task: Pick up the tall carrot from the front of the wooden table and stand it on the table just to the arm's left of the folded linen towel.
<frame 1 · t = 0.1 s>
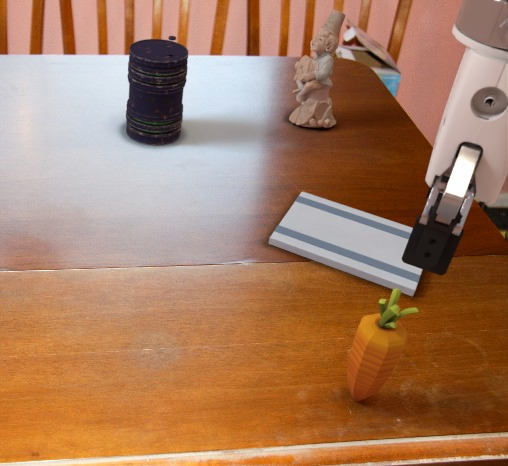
hand: (434, 233, 52), 25 cm above the table, tool pointing down, fingers open, 9 cm apart
towel: (351, 242, 93), on the table
carrot: (355, 400, 70), on the table
figurine: (309, 122, 123), on the table
dark blue cylinder: (153, 132, 115), on the table
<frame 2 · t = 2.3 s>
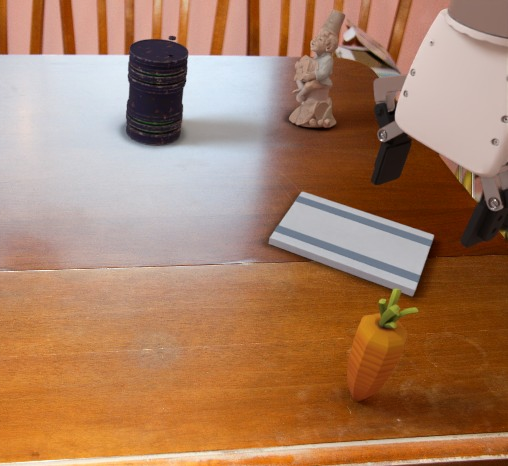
hand: (427, 209, 55), 25 cm above the table, tool pointing down, fingers open, 9 cm apart
nothing on the table moved.
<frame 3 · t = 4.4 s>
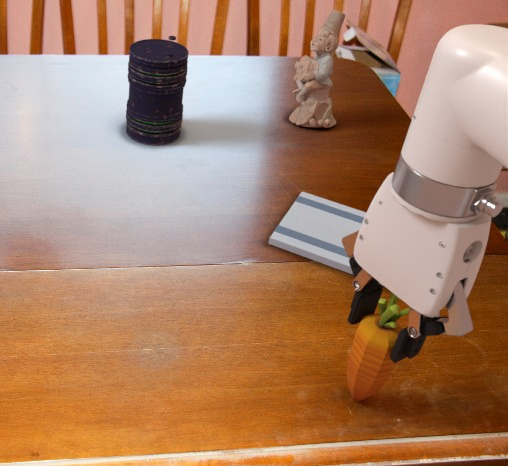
hand: (381, 335, 64), 10 cm above the table, tool pointing down, fingers closed on carrot, 4 cm apart
carrot: (355, 400, 70), on the table, touching gripper
everything else where it was.
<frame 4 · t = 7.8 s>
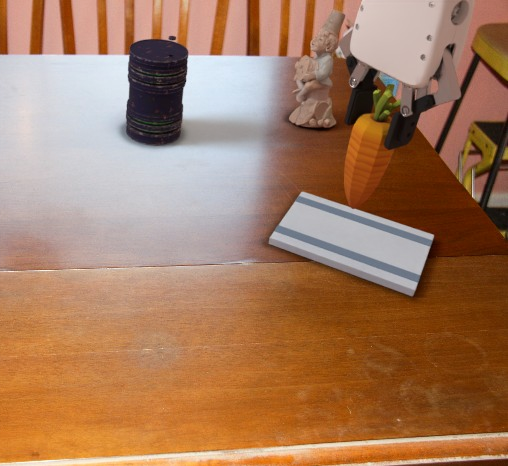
hand: (375, 132, 69), 24 cm above the table, tool pointing down, fingers closed on carrot, 4 cm apart
carrot: (352, 209, 75), point 14 cm above the table, touching gripper
everything else where it was.
when the fingers open (10 cm above the table, at t = 11.2 s): carrot stays where it is, on the table.
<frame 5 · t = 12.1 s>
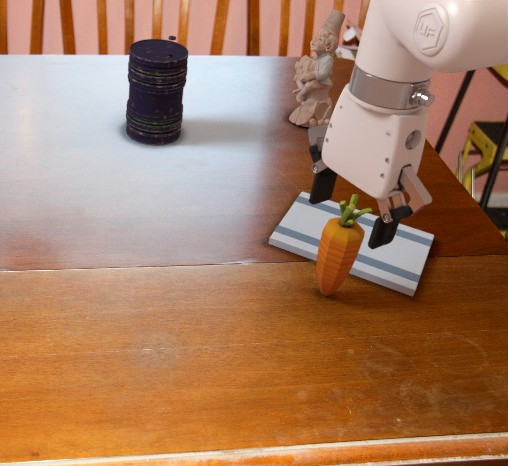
hand: (347, 222, 76), 12 cm above the table, tool pointing down, fingers open, 9 cm apart
carrot: (324, 296, 84), on the table
everything else where it was.
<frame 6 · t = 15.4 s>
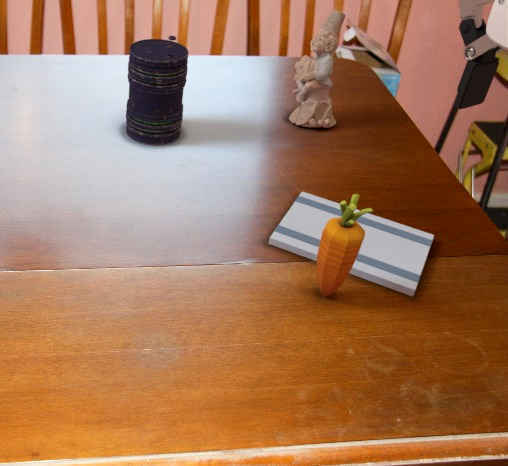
nothing on the table moved.
at the end: carrot inside the target area on the table beside the towel (0.2 cm from its centre), on the table; carrot tilted 0°; the gripper is holding nothing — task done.
